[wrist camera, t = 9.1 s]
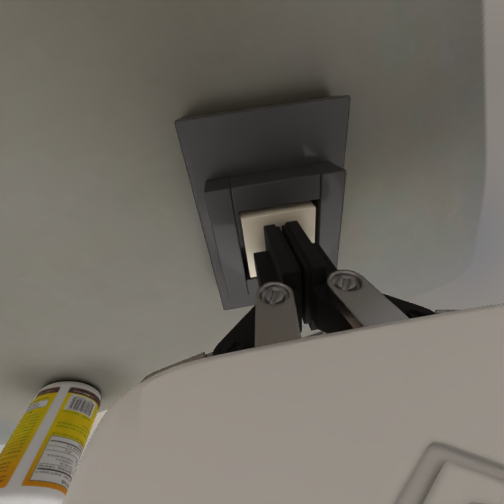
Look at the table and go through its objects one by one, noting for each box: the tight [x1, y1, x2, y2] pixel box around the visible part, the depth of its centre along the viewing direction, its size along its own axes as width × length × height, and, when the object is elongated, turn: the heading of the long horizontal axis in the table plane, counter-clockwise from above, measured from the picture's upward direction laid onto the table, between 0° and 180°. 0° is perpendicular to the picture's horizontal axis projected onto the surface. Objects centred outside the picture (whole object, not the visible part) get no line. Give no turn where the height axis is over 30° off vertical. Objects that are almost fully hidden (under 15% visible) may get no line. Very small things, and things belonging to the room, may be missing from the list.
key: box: [239, 201, 316, 278], centre depth 13 cm, size 4×4×2 cm
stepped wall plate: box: [175, 95, 350, 310], centre depth 14 cm, size 12×8×4 cm, turn 7°
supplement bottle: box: [0, 381, 101, 504], centre depth 19 cm, size 6×6×10 cm
